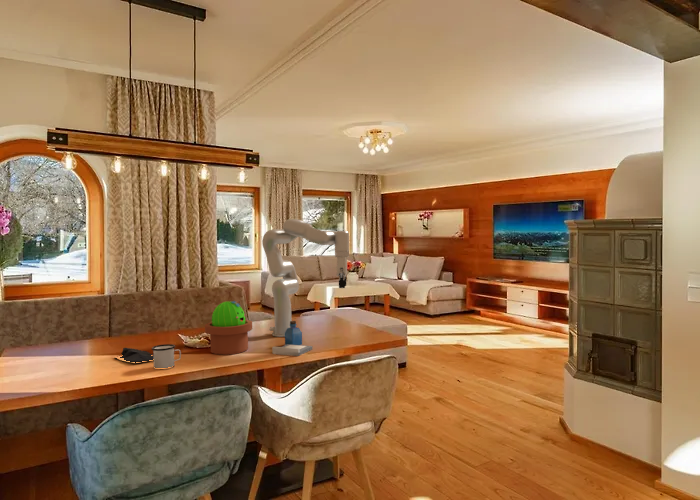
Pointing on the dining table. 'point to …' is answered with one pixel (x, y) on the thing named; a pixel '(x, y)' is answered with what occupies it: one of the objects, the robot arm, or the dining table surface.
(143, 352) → the black folded cloth
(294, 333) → the perfume bottle
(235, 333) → the potted cactus
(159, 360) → the mug
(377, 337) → the dining table surface
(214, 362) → the dining table surface
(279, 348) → the grey square slab
